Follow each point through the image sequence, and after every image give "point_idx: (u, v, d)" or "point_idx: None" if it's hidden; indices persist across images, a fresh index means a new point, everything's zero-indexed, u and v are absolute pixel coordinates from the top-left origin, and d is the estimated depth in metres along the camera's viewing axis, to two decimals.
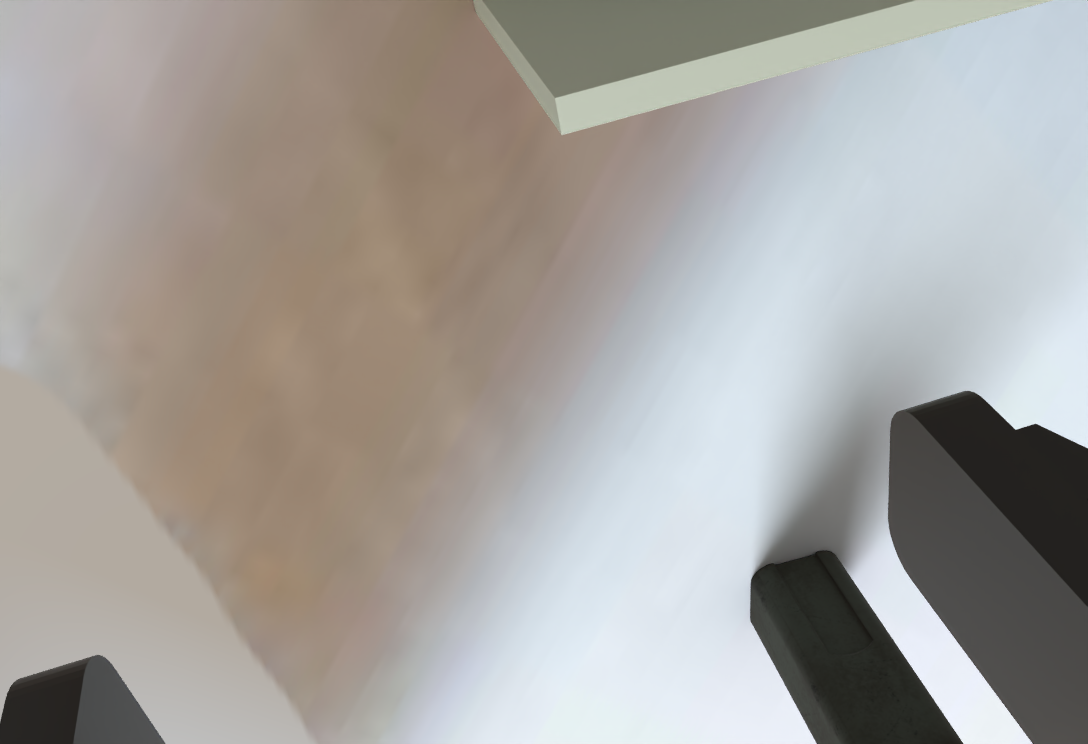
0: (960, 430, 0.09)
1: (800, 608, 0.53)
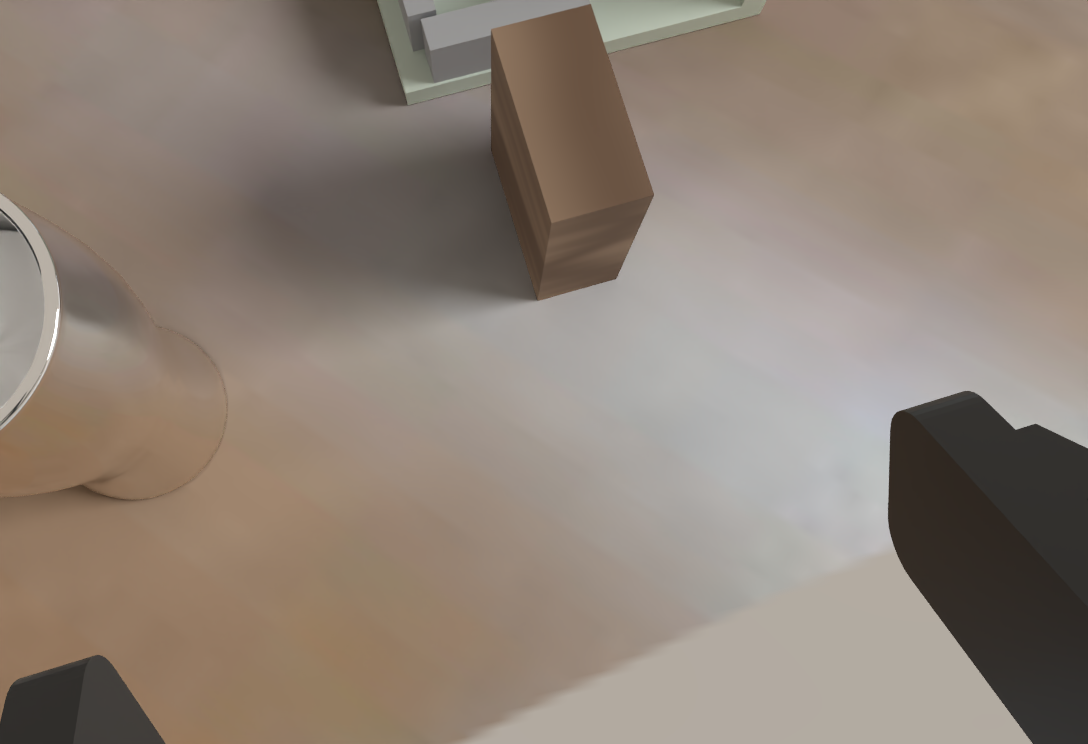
0: (960, 430, 0.09)
1: None
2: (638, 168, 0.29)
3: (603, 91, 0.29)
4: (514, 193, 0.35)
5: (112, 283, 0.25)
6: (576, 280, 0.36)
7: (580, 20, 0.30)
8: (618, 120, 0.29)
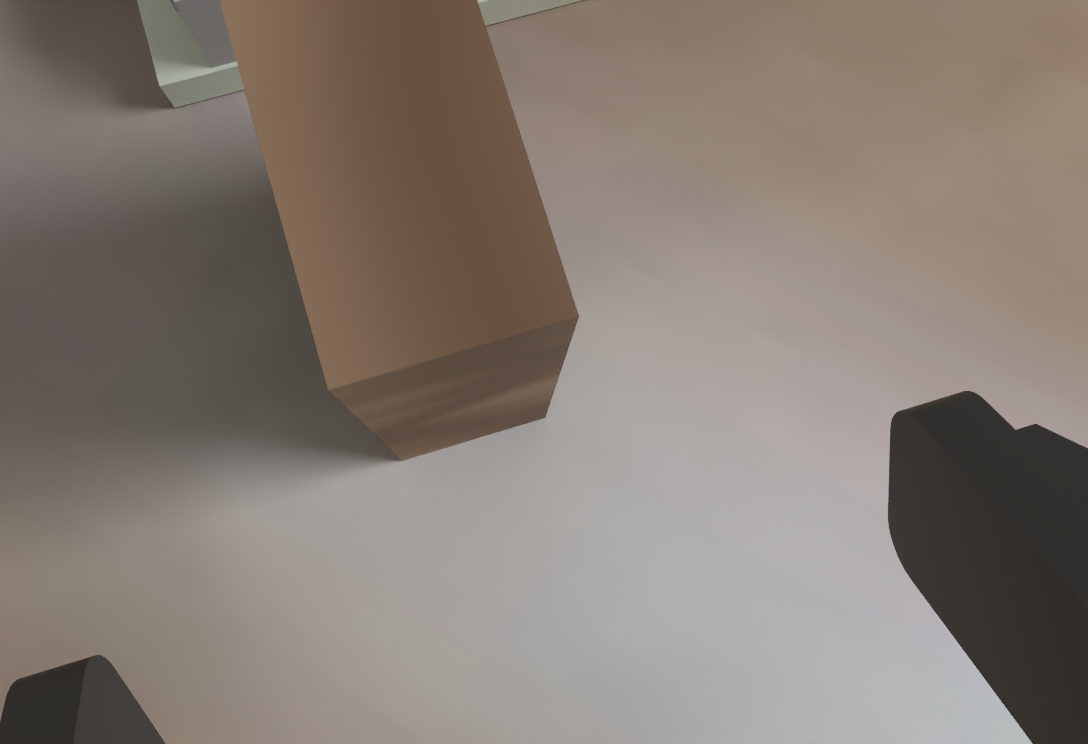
0: (960, 430, 0.09)
1: None
2: (542, 251, 0.12)
3: (460, 69, 0.12)
4: None
5: None
6: (464, 433, 0.19)
7: None
8: (495, 137, 0.12)
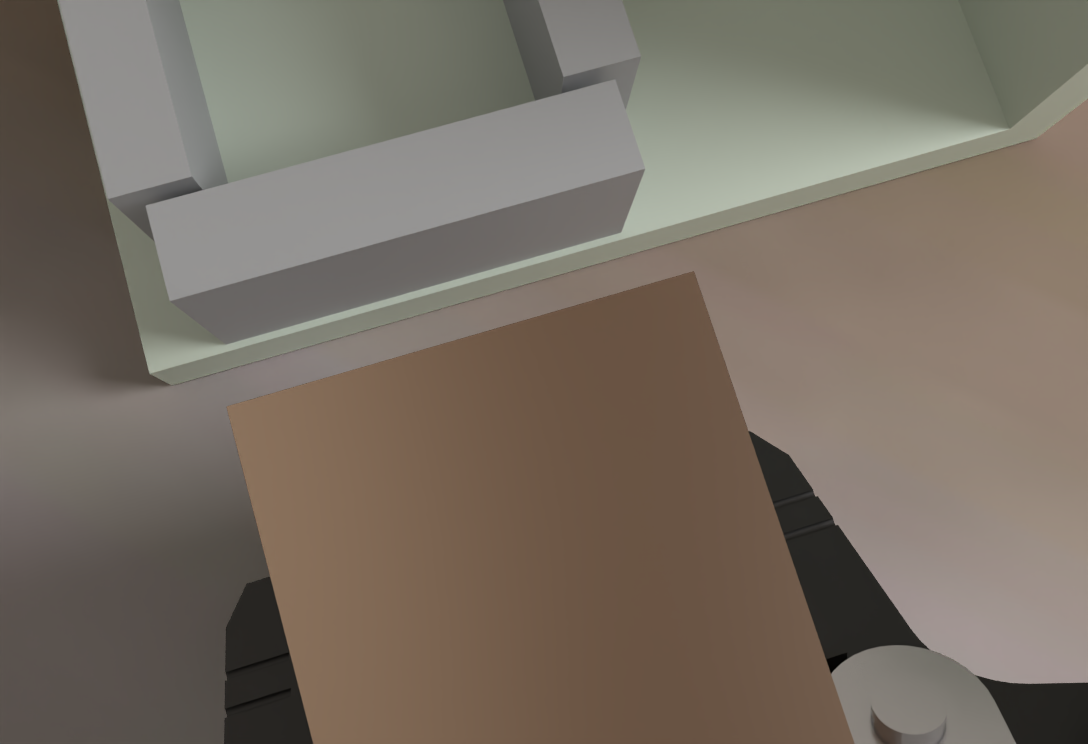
0: None
1: None
2: None
3: (764, 714, 0.06)
4: None
5: None
6: None
7: (648, 353, 0.06)
8: None
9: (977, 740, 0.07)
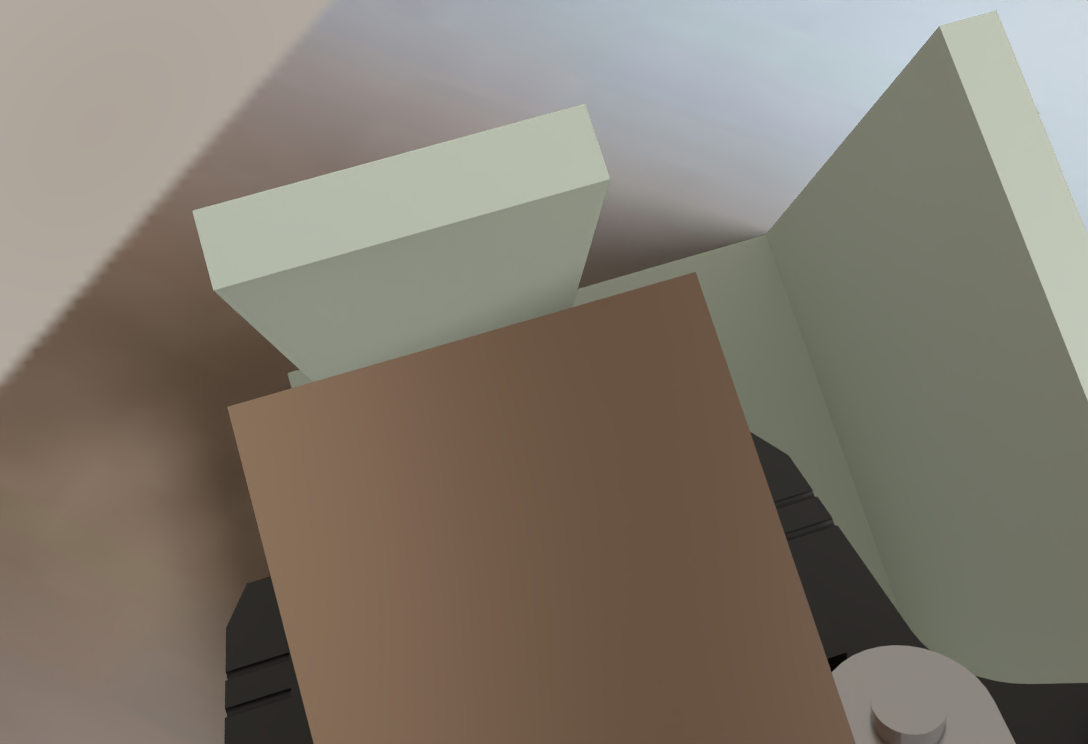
0: None
1: None
2: None
3: (766, 715, 0.06)
4: None
5: None
6: None
7: (650, 353, 0.06)
8: None
9: (977, 739, 0.07)
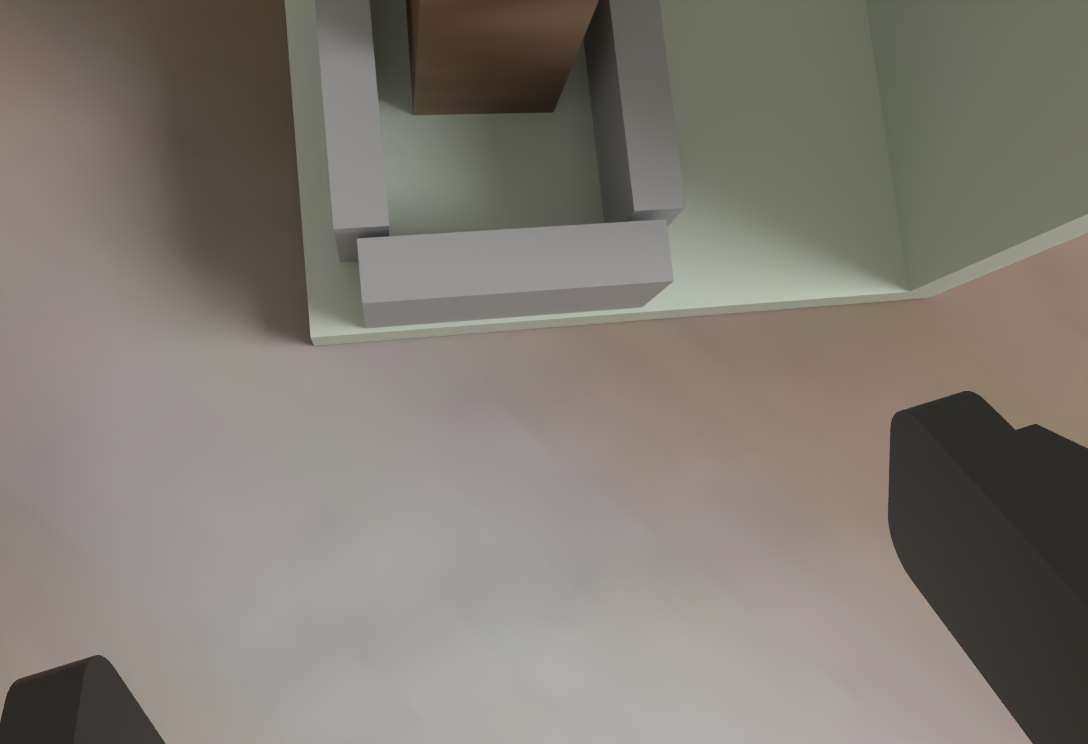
0: (960, 430, 0.09)
1: None
2: None
3: None
4: None
5: None
6: (483, 85, 0.20)
7: None
8: None
9: None
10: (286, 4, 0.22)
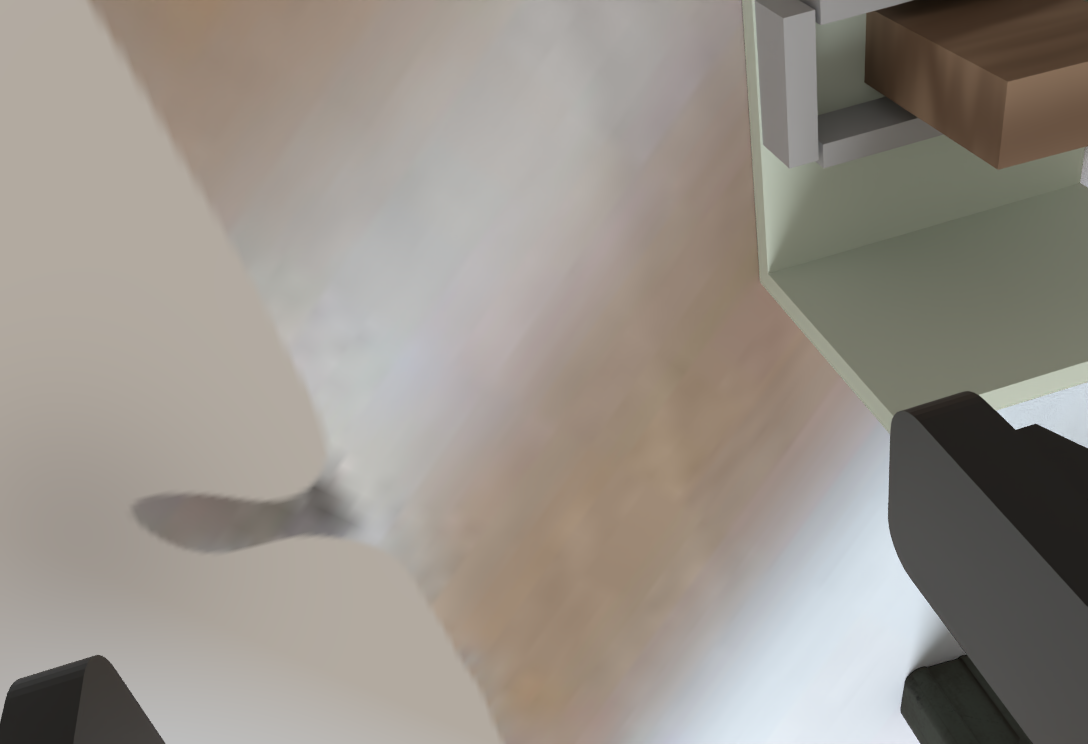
0: (960, 430, 0.09)
1: (954, 708, 0.64)
2: (1022, 158, 0.34)
3: None
4: (986, 7, 0.37)
5: None
6: (884, 53, 0.39)
7: None
8: (1064, 144, 0.34)
9: None
10: None
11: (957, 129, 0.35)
